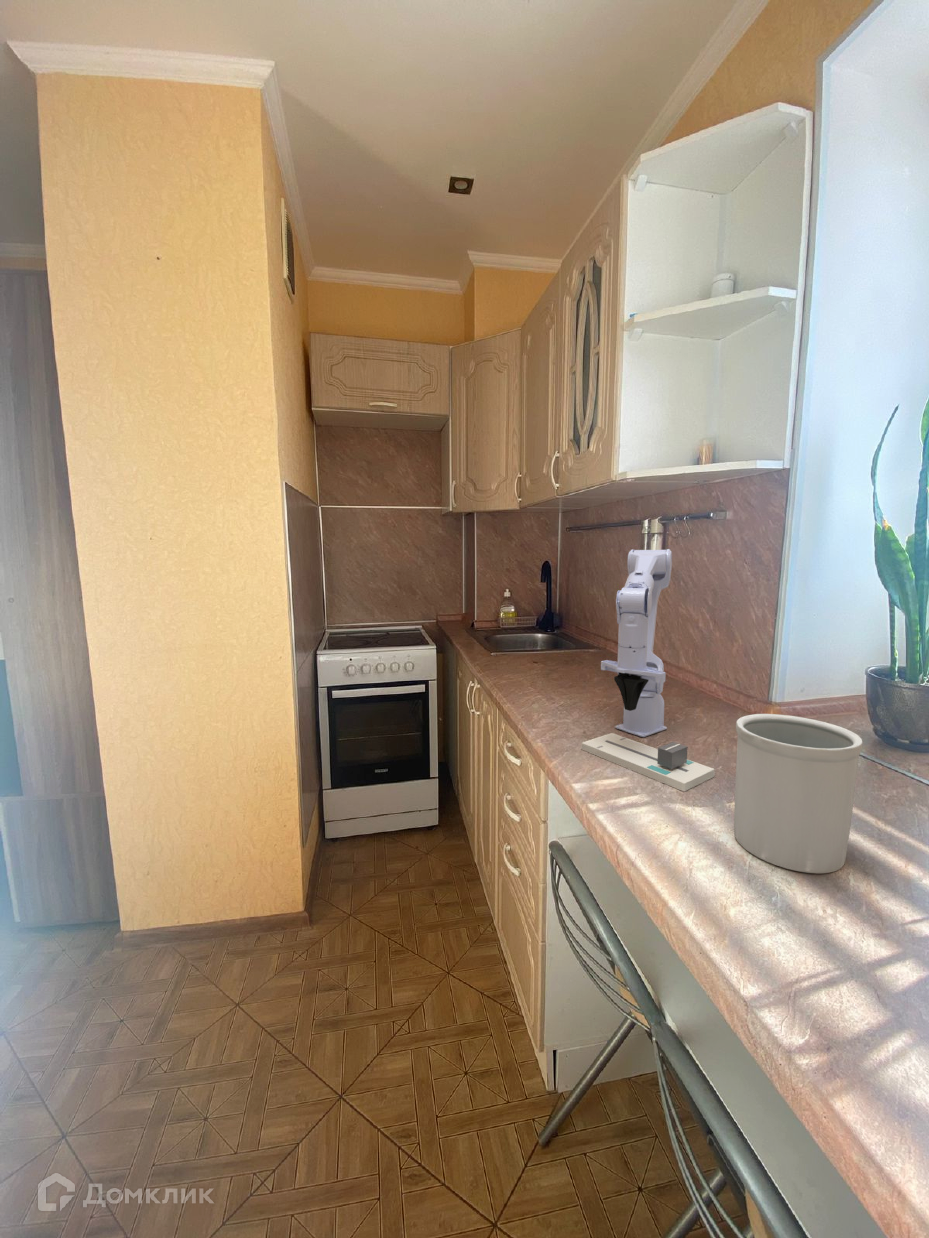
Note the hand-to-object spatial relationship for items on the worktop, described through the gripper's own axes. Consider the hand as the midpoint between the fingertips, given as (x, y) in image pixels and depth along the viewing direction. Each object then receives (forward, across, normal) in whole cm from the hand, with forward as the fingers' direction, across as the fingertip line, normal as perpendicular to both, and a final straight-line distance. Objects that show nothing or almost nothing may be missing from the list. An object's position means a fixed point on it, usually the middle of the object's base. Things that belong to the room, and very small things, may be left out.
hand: (630, 709), depth 107 cm
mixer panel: (+9, +5, -2) cm, 11 cm away
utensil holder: (+10, +35, -10) cm, 38 cm away
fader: (+7, +11, -2) cm, 14 cm away
